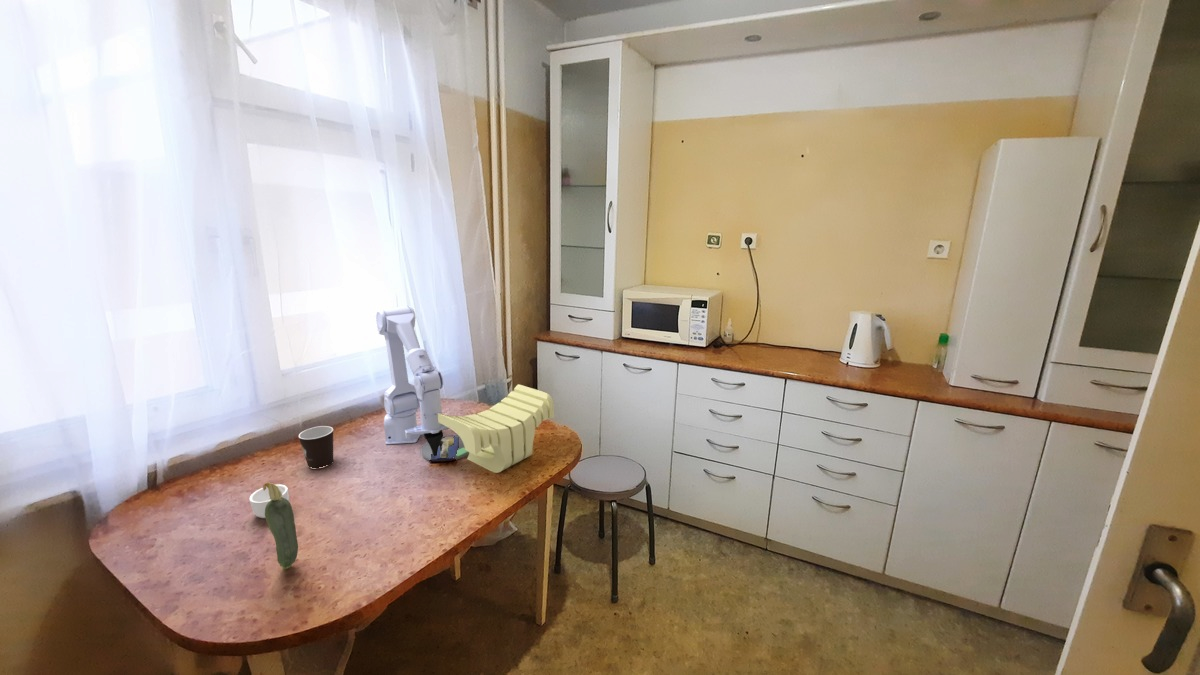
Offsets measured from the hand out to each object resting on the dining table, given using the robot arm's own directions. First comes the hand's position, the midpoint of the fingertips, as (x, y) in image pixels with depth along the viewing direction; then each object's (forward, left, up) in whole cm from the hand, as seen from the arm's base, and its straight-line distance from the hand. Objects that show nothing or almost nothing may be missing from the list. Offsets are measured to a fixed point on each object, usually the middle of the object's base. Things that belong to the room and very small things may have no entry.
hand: (434, 454), depth 134 cm
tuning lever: (+3, +5, -1) cm, 6 cm away
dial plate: (+3, +8, -3) cm, 9 cm away
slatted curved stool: (+19, 0, -3) cm, 19 cm away
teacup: (-35, -18, -3) cm, 40 cm away
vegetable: (-21, -40, -3) cm, 46 cm away
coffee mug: (-33, +6, -3) cm, 34 cm away
